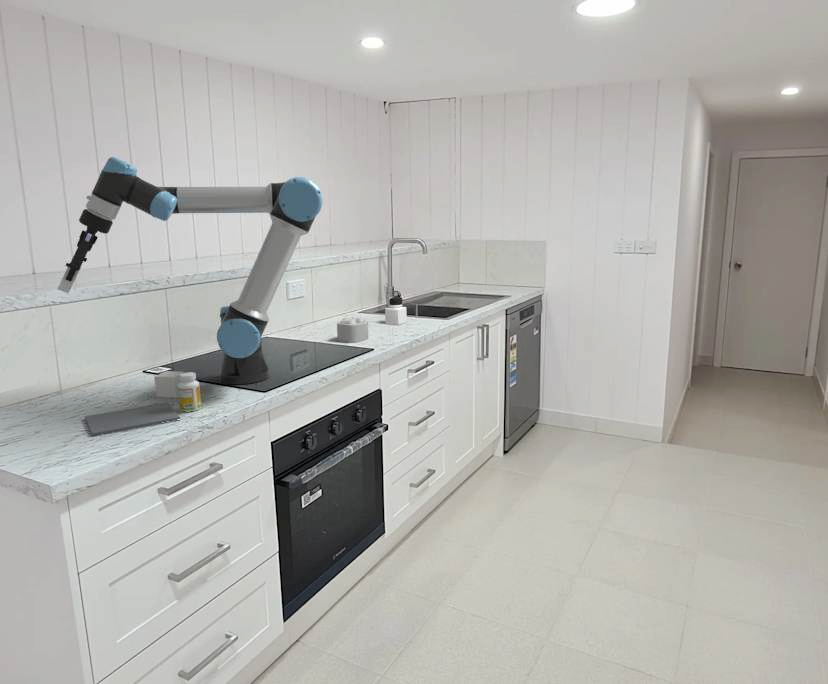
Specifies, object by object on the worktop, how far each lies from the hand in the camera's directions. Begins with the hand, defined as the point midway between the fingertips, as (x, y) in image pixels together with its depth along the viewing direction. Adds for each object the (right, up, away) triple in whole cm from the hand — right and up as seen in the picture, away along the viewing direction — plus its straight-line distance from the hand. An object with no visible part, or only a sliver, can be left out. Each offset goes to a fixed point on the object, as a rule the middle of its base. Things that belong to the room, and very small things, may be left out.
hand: (65, 285), depth 169 cm
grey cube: (+23, -30, +14) cm, 40 cm away
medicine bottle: (+85, -7, +116) cm, 144 cm away
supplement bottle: (+34, -33, -1) cm, 47 cm away
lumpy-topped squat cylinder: (+69, -14, +84) cm, 110 cm away
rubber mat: (+22, -35, -8) cm, 42 cm away
